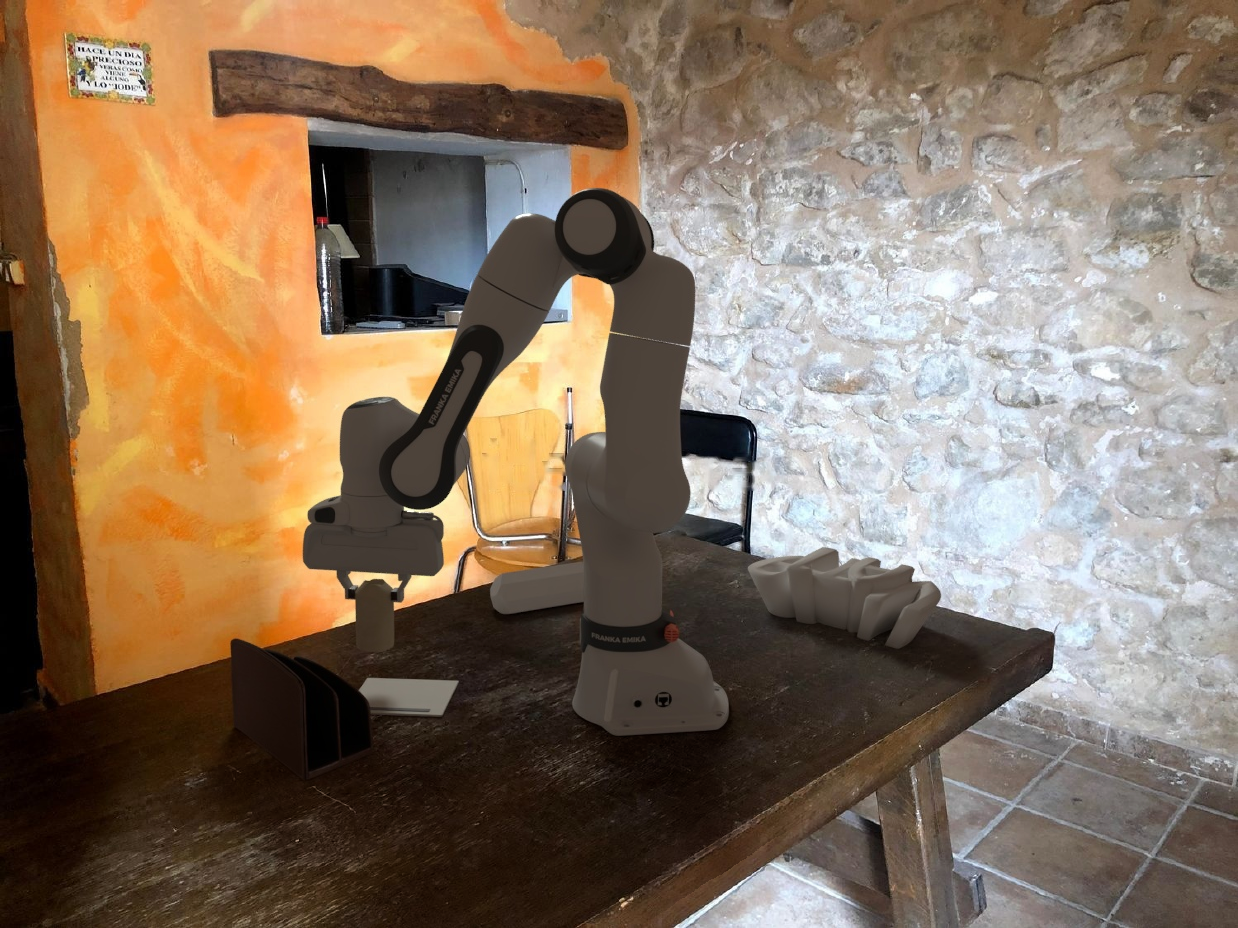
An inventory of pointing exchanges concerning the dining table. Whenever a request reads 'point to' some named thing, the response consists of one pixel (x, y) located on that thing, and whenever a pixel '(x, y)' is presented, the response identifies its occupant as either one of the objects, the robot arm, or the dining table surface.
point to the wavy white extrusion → (846, 594)
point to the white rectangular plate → (408, 696)
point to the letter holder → (298, 710)
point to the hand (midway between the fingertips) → (374, 599)
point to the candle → (374, 616)
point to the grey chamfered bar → (538, 588)
